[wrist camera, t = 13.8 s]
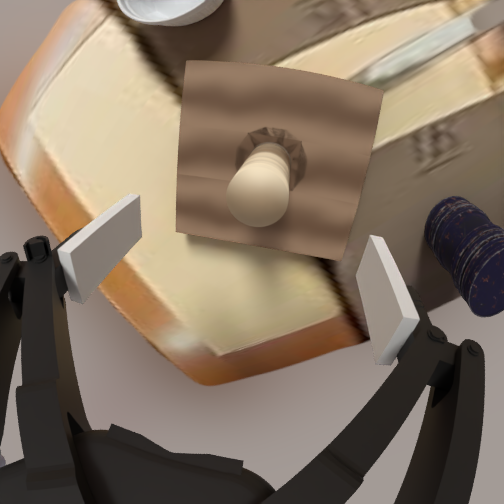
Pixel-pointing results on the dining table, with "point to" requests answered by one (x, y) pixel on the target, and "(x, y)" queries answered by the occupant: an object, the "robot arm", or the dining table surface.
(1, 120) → the dining table surface
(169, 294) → the dining table surface
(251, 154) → the beech leg
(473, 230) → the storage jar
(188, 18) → the ramekin
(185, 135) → the walnut board
